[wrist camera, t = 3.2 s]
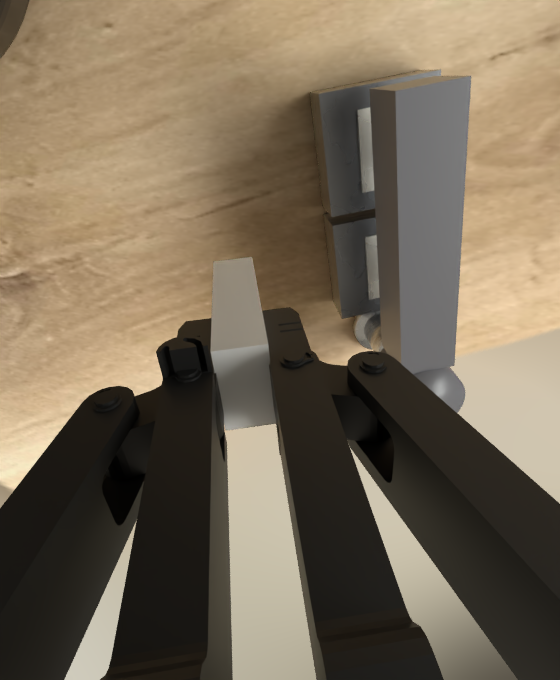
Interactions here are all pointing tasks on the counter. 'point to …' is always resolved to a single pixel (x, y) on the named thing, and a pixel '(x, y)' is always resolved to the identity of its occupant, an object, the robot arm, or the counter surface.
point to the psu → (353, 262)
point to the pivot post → (369, 330)
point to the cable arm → (421, 222)
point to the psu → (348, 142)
